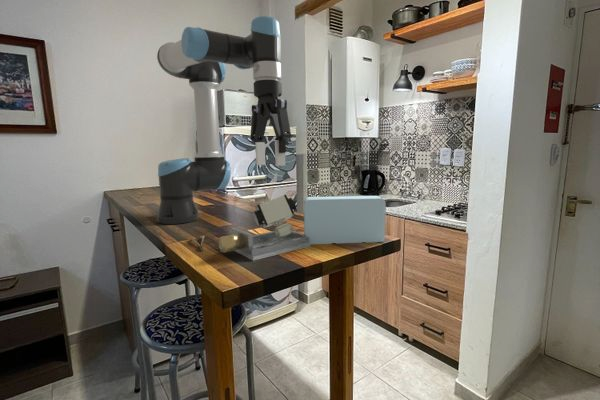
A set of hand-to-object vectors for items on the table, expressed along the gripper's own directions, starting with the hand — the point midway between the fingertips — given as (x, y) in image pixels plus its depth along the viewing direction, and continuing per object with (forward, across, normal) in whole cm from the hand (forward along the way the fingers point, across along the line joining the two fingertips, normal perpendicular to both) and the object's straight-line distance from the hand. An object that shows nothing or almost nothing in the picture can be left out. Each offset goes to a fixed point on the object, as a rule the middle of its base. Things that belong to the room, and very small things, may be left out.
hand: (270, 165), depth 91 cm
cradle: (+22, +3, -3) cm, 23 cm away
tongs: (+23, -12, -17) cm, 31 cm away
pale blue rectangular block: (+23, +12, +16) cm, 31 cm away
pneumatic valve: (+20, +4, +2) cm, 21 cm away
